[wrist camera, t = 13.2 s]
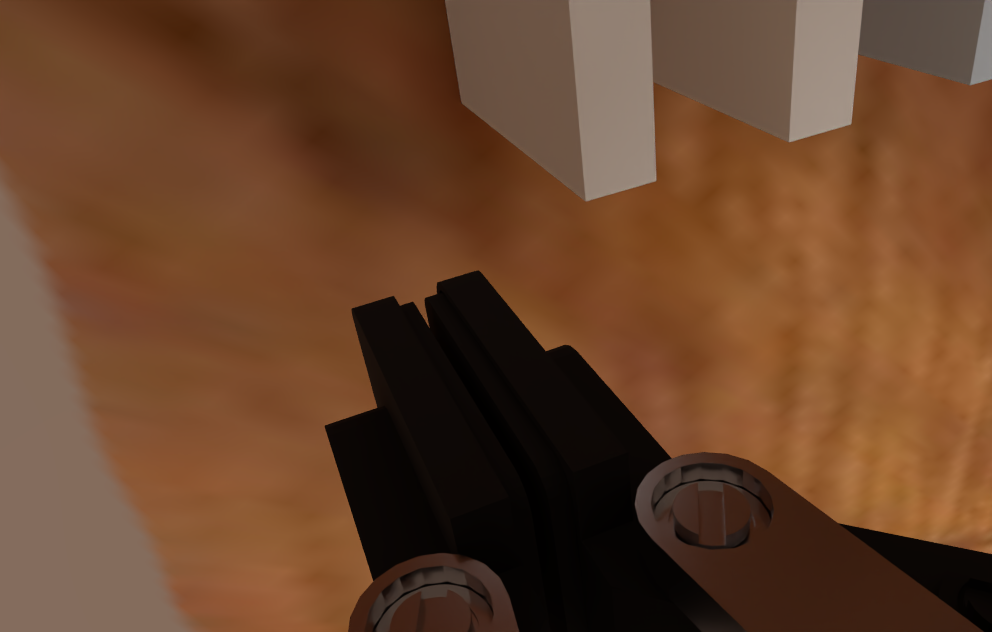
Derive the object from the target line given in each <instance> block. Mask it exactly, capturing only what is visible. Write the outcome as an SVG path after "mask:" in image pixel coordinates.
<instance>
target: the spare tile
mask: <svg viewBox="0 0 992 632" xmlns="http://www.w3.org/2000/svg"><path fill="white" fill-rule="evenodd" d="M858 54H859V55H862V56H866V57H870V58H873V59H877V60H880V61H884V62H888V63H891V64H895V65H899V66H902V67H906V68H909V69H913V70H917V71H920V72H924V73H928V74H931V75H935V76H938V77H942V78H946V79H949V80H953V81H957V82H960V83H964V84H967V85H973V84H976V83H980V82H983V81H987V80H990V79H992V0H863V8H862V18H861V28H860V39H859V49H858Z"/></svg>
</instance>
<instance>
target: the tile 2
mask: <svg viewBox="0 0 992 632" xmlns="http://www.w3.org/2000/svg"><path fill="white" fill-rule="evenodd" d="M862 8H863V0H650V10H651V39H652V69H653V82H654V83H657V84H659V85H661V86H663V87H666V88H668V89H670V90H672V91H675V92H677V93H679V94H681V95H684V96H686V97H688V98H690V99H693V100H695V101H697V102H699V103H702V104H704V105H706V106H708V107H711V108H713V109H715V110H717V111H720V112H722V113H724V114H726V115H729V116H731V117H733V118H735V119H738V120H740V121H742V122H744V123H747V124H749V125H751V126H753V127H756V128H758V129H760V130H762V131H765V132H767V133H769V134H771V135H774V136H776V137H778V138H780V139H783V140H785V141H787V142H792V141H795V140H799V139H802V138H806V137H809V136H813V135H816V134H819V133H823V132H826V131H830V130H833V129H837V128H840V127H844V126H847V125H851V121H852V110H853V100H854V90H855V80H856V69H857V59H858V49H859V39H860V28H861V18H862Z"/></svg>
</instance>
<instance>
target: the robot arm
mask: <svg viewBox="0 0 992 632" xmlns="http://www.w3.org/2000/svg"><path fill="white" fill-rule="evenodd" d="M425 307H426V313H427V317H428V322H429V327H430V328H429V327H428V325H427V323H426V322H425V320H424V318H423V317H422V315H421V313H420V312H419V310H418V308H417V307H416V305H415V304H414V302H410V303H407V304H404V305H401V306H400V305H399V304H398V302H397V300H396V299H395V297H394V296H392V297H388V298H385V299H382V300H378V301H375V302H372V303H369V304H365V305H362V306H359V307H355V308H352V315H353V320H354V323H355V327H356V331H357V335H358V338H359V342H360V346H361V349H362V353H363V356H364V360H365V364H366V367H367V371H368V375H369V378H370V382H371V386H372V389H373V393H374V397H375V400H376V404H377V408H376V409H373V410H370V411H367V412H364V413H361V414H358V415H355V416H352V417H349V418H346V419H343V420H340V421H337V422H334V423H331V424H328V425H325V429H326V432H327V436H328V439H329V442H330V445H331V448H332V451H333V455H334V458H335V461H336V464H337V467H338V470H339V474H340V477H341V480H342V483H343V486H344V489H345V493H346V496H347V499H348V502H349V505H350V508H351V512H352V515H353V518H354V521H355V524H356V527H357V531H358V534H359V537H360V540H361V543H362V546H363V550H364V553H365V556H366V559H367V562H368V565H369V569H370V572H371V575H372V578H373V583H372V584H371V585H370V586H369V587H368V588H367V589H366V590H365V592H364V593H363V594H362V595H361V596H360V598H359V600H358V602H357V604H356V606H355V608H354V610H353V612H352V615H351V617H350V622H349V630H348V632H992V554H988V553H983V552H978V551H973V550H968V549H963V548H958V547H953V546H948V545H943V544H939V543H934V542H929V541H924V540H919V539H914V538H909V537H904V536H899V535H894V534H889V533H884V532H879V531H874V530H869V529H864V528H859V527H854V526H849V525H844V524H839V523H837V522H836V521H834V520H833V519H832V518H830V517H829V516H827V515H826V514H825V513H823V512H822V511H821V510H819V509H818V508H817V507H815V506H814V505H813V504H811V503H810V502H809V501H807V500H806V499H805V498H803V497H802V496H801V495H799V494H798V493H797V492H795V491H794V490H792V489H791V488H790V487H788V486H787V485H786V484H784V483H783V482H782V481H780V480H779V479H778V478H776V477H775V476H774V475H772V474H771V473H770V472H768V471H767V470H765V469H763V468H761V467H760V466H758V465H756V464H754V463H752V462H751V461H749V460H746V459H742V458H739V457H735V456H732V455H729V454H721V453H708V452H701V453H694V454H686V455H681V456H678V457H675V458H673V459H672V458H671V457H670V456H669V455H668V454H667V453H666V451H665V450H664V449H663V448H662V447H661V446H660V445H659V444H658V442H657V441H656V440H655V439H654V438H653V437H652V436H651V435H650V433H649V432H648V431H647V430H646V429H645V428H644V427H643V425H642V424H641V423H640V422H639V421H638V420H637V419H636V418H635V416H634V415H633V414H632V413H631V412H630V411H629V410H628V408H627V407H626V406H625V405H624V404H623V403H622V402H621V401H620V399H619V398H618V397H617V396H616V395H615V394H614V393H613V392H612V390H611V389H610V388H609V387H608V386H607V385H606V384H605V382H604V381H603V380H602V379H601V378H600V377H599V376H598V375H597V373H596V372H595V371H594V370H593V369H592V368H591V367H590V366H589V364H588V363H587V362H586V361H585V360H584V359H583V358H582V356H581V355H580V354H579V353H578V352H577V351H576V350H575V349H574V348H572V347H571V346H569V345H563V346H560V347H557V348H554V349H551V350H548V351H545V350H544V349H543V347H542V346H541V345H540V344H539V343H538V341H537V340H536V339H535V338H534V336H533V335H532V334H531V333H530V332H529V330H528V329H527V328H526V327H525V325H524V324H523V323H522V322H521V321H520V319H519V318H518V317H517V316H516V314H515V313H514V312H513V311H512V310H511V308H510V307H509V306H508V305H507V303H506V302H505V301H504V300H503V299H502V297H501V296H500V295H499V294H498V292H497V291H496V290H495V289H494V288H493V286H492V285H491V284H490V283H489V282H488V280H487V279H486V278H485V277H484V275H483V274H482V273H481V272H480V271H479V270H478V271H474V272H471V273H467V274H464V275H461V276H457V277H454V278H451V279H447V280H444V281H441V282H438V283H437V294H436V295H433V296H430V297H427V298H425Z"/></svg>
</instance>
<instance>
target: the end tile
mask: <svg viewBox="0 0 992 632" xmlns="http://www.w3.org/2000/svg"><path fill="white" fill-rule="evenodd" d="M445 5H446V11H447V17H448V23H449V29H450V36H451V42H452V48H453V54H454V60H455V66H456V73H457V79H458V85H459V91H460V97H461V103H462V104H463V105H464V106H466V107H467V108H468V109H469V110H471V111H472V112H473V113H475V114H476V115H477V116H478V117H480V118H481V119H482V120H483V121H485V122H486V123H487V124H488V125H490V126H491V127H492V128H493V129H495V130H496V131H497V132H499V133H500V134H501V135H502V136H504V137H505V138H506V139H507V140H509V141H510V142H511V143H512V144H514V145H515V146H516V147H517V148H519V149H520V150H521V151H523V152H524V153H525V154H526V155H528V156H529V157H530V158H531V159H533V160H534V161H535V162H536V163H538V164H539V165H540V166H541V167H543V168H544V169H545V170H547V171H548V172H549V173H550V174H552V175H553V176H554V177H555V178H557V179H558V180H559V181H560V182H562V183H563V184H564V185H565V186H567V187H568V188H569V189H571V190H572V191H573V192H574V193H576V194H577V195H578V196H579V197H581V198H582V199H583V200H584V201H589V200H593V199H596V198H600V197H603V196H606V195H610V194H613V193H617V192H620V191H624V190H627V189H631V188H634V187H638V186H641V185H644V184H648V183H651V182H655V181H656V157H655V128H654V98H653V69H652V39H651V10H650V0H445Z"/></svg>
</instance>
